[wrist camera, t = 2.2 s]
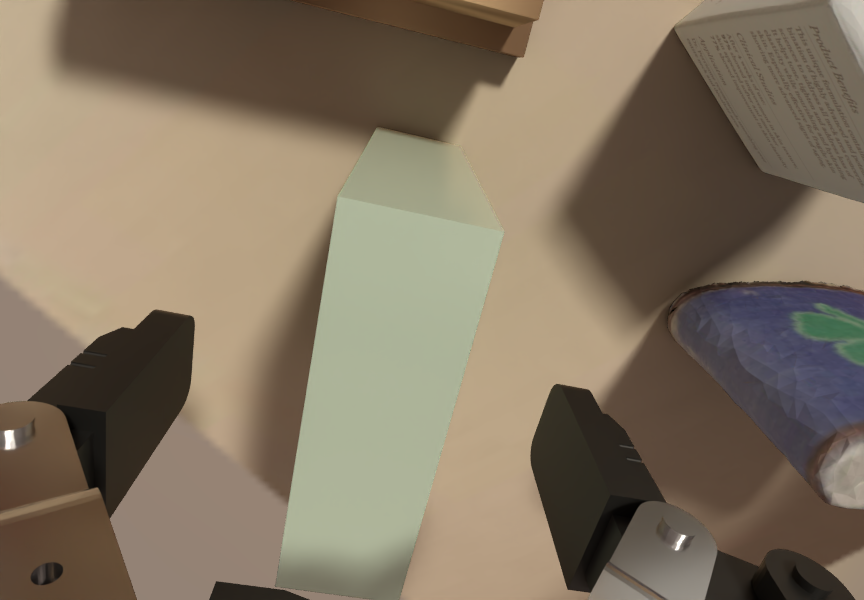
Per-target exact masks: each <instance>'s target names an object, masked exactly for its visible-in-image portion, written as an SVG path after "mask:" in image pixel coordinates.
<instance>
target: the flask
mask: <svg viewBox="0 0 864 600" xmlns="http://www.w3.org/2000/svg"><path fill="white" fill-rule="evenodd" d="M675 307H677V308H676V309H675V311H673V312H672V313H671V311H672V309H674V308H675ZM669 312H670V313H671V314H670V313H669V315H670V316H668V327H667V328H668V329H669V331H670V333H671V335H672V337H673V338H674V340H675V341H676V342H677V343H678V344H679V345H681V346H682V347H683V349H684V350H685V351H686V352H687V353H688V354H689V355H690V356H691V357H692V358H693V359H694V360H696V361H697V362H698V363H699V364H700V365H701V366H702V367H703V368H704V369H705V370H706V371H707V372H708V373H709V374H710V375H711V376H712V377H713V378H714V379H715V380H716V381H717V382H718V383H719V384H720V385H721V387H722V388H723V389H724V390H725V391H726V392H727V393H728V395H729V396H730V397H731V398H732V400H733V401H734V402H735V403H736V404H737V405H738V406H739V407H740V408H741V409H743V410H744V411H745V412H746V413H747V415H748V416H749V417H750V418H751V419H752V420H753V421H754V422H755V424H756V425H757V426H758V427H759V428H760V429H761V430H762V431H763V432H764V434H765V435H766V436H767V437H768V438H769V439H770V441H771V442H773V444H774V445H775V446H776V447H777V448H778V449H779V450H780V451H781V452H782V453H783V454H784V455H785V456H786V457H787V459H788V460H789V462H790V463H791V465H792V466H793V467H794V468H795V469H796V470H797V471H798V472H799V473H800V474H801V475H802V476H803V477H804V479H805V480H806V481H807V482H808V483H809V485H810V486H811V487H812V488H813V490H814V491H815V492H816V493H817V494H818V496H819V497H820V498H821V499H822V500H823V501H824V502H825V503H828V504H830V505H833V506H837V507H840V508H848V509H864V291H863V290H862V291H861V290H857V289H853V288H850V287H849V286H844V285H843V286H842V287H839V286H837V285H834V284H832V283H829V284H827V283H823V282H818V283H811V282H809V281H800V282H793V283H791V282H787V283H786V282H781V281H780V282H759V281H757V282H755V281H754V282H753V283H749V282H747V283H746V282H743V283H742V281H741V282H739V283H738V282H733V283H728V284H726V283H724V284H723V283H717V284H715V283H713V284H712V285H707V286H704V287H698V288H694V289H690V291H689V292H685V293H681V295H680V296H679V297H678V298H677V299H676V300H675V301H674V302H673V304H672V306H671V307H670V311H669Z"/></svg>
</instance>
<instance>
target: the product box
mask: <svg viewBox="0 0 864 600" xmlns="http://www.w3.org/2000/svg"><path fill="white" fill-rule="evenodd" d="M674 29H675V32H676V33H677V35H678V37H679V38H680V40H681V42H682V43H683V45H684V47H685V48H686V50H687V52H688V53H689V55H690V57H691V58H692V60H693V62H694V63H695V65H696V67H697V68H698V70H699V72H700V73H701V75H702V77H703V78H704V80H705V82H706V83H707V85H708V86H709V88H710V90H711V91H712V93H713V95H714V96H715V98H716V100H717V101H718V103H719V104H720V106H721V108H722V109H723V111H724V113H725V114H726V116H727V117H728V119H729V121H730V122H731V124H732V125H733V127H734V129H735V130H736V132H737V133H738V135H739V137H740V138H741V140H742V141H743V143H744V145H745V146H746V148H747V149H748V151H749V153H750V154H751V156H752V157H753V159H754V160H755V162H756V163H757V165H758V167H759V168H760V169H761V171H763V172H765V173H767V174H771V175H775V176H778V177H781V178H785V179H788V180H791V181H794V182H797V183H800V184H803V185H807V186H810V187H813V188H816V189H819V190H823V191H826V192H829V193H832V194H836V195H839V196H842V197H845V198H848V199H852V200H855V201H859V202H862V203H864V0H704V1H703V2H702V3H701V4H700V5H698V6H697V7H696V8H695V9H694V10H692V11H691V12H690V13H689V14H688V15H686V16H685V17H684V18H683V19H682V20H681V21H679V22H678V23H677V24H676V25H675V27H674Z"/></svg>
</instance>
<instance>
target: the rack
mask: <svg viewBox="0 0 864 600" xmlns="http://www.w3.org/2000/svg"><path fill="white" fill-rule="evenodd" d="M291 1H295V2H299V3H303V4H307V5H311V6H315V7H319V8H323V9H327V10H331V11H335V12H339V13H343V14H347V15H351V16H355V17H359V18H363V19H367V20H371V21H375V22H379V23H383V24H387V25H391V26H395V27H399V28H403V29H407V30H411V31H415V32H419V33H423V34H427V35H431V36H435V37H439V38H443V39H447V40H451V41H455V42H459V43H463V44H467V45H471V46H475V47H479V48H483V49H487V50H491V51H495V52H499V53H503V54H506V55H510V56H514V57H524V54H525V50H526V47H527V43H528V39H529V35H530V32H531V28H532V24H533V21H536V20H538V19H539V16H540V12H541V8H542V5H543V1H544V0H291Z"/></svg>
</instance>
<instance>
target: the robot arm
mask: <svg viewBox="0 0 864 600" xmlns="http://www.w3.org/2000/svg"><path fill="white" fill-rule="evenodd" d="M194 330H195V322H194V318H193V317H192V316H189V315H183V314H178V313H173V312H167V311H162V310H153V311H152V312H151V313H150V314H149V315H148V316H147V317H146V318H145V319H144V320H143V321H142V322H141V323H140V324H139V325H138V326H137V327H136V328H135V329H130V328H124V327H122V328H120V329H117V330H115V331H112V332H110V333H107V334H105V335H103V336H100V337H98V338H97V339H96V340H95V341H94V342H93V343H92V344H91V345H89V346H88V347H87V348H86V349H85V350H84V352H83V354H82V353H80V354H79V355H78V356H77V357H76V358H75V359H74V360H73V361H71V364H70V365H67V366H66V367H65V368H64V369H62V370H61V371H60V372H59V373H58V374H57V375H56V376H55V377H54V378H53V379H51V380H50V381H49V382H48V383H47V384H46V385H45V386H43V387H42V388H41V389H40V390H39V391H38V392H37V393H36V394H34V395H33V396H32V397H31V398H30V399H29V400H28V401H16V402H8V403H3V404H0V600H137V598H136V595H135V592H134V590H133V586H132V583H131V580H130V578H129V575H128V572H127V569H126V566H125V563H124V560H123V557H122V554H121V551H120V548H119V545H118V543H117V539H116V537H115V533H114V531H113V528H112V525H111V522H110V517H111V516H112V514H113V513H114V511H115V510H116V508H117V507H118V505H119V503H120V502H121V501H122V499H123V498H124V496H125V495H126V493H127V491H128V490H129V488H130V487H131V485H132V484H133V482H134V481H135V479H136V478H137V476H138V475H139V473H140V472H141V470H142V469H143V467H144V465H145V464H146V462H147V461H148V460H149V458H150V457H151V455H152V453H153V452H154V450H155V449H156V447H157V446H158V444H159V443H160V441H161V440H162V438H163V437H164V435H165V434H166V432H167V431H168V429H169V428H170V426H171V425H172V423H173V421H174V420H175V418H176V417H177V415H178V414H179V412H180V411H181V409H182V408H183V406H184V404H185V401H186V399H187V396H188V393H189V389H190V384H191V374H192V360H193V345H194ZM641 460H642V459H641V458H640V456H639V454H638V452H637V451H636V450H635V449H634V445H633V444H632V442H631V440H630V438H629V437H628V435H627V433H626V431H625V430H624V429H623V428H622V427H621V426H620V425H619V424H618V423H617V422H615V421H614V420H613V419H612V418H611V417H610V416H609V415H607V414H602V412H601V410H600V408H599V406H598V404H597V402H596V401H595V399H594V397H593V395H592V393H591V392H590V391H589V390H588V389H583V388H577V387H572V386H566V385H561V384H556V385H554V386H553V388H552V389H551V391H550V394H549V396H548V399H547V402H546V405H545V407H544V410H543V413H542V416H541V418H540V421H539V424H538V427H537V429H536V432H535V435H534V438H533V441H532V446H531V466H532V470H533V473H534V477H535V480H536V484H537V487H538V490H539V494H540V497H541V501H542V504H543V507H544V511H545V514H546V518H547V521H548V524H549V528H550V531H551V535H552V538H553V541H554V545H555V548H556V552H557V555H558V558H559V562H560V565H561V569H562V572H563V575H564V579H565V582H566V586H567V589H568V590H575V591H582V592H589V593H591V594H590V595H589V597H588V599H587V600H855V599H854V597H853V596H852V595H851V593H850V592H849V591H848V590H847V588H846V587H845V586H844V585H843V584H842V583H841V582H840V581H839V580H838V579H837V578H836V577H835V576H834V575H833V574H832V573H830V572H829V571H828V570H826V569H825V568H824V567H822V566H821V565H819V564H818V563H816V562H815V561H813V560H811V559H809V558H807V557H805V556H803V555H801V554H798V553H796V552H793V551H789V550H784V549H775V550H771V551H770V552H768V553H767V555H766V556H765V558H764V560H763V561H762V563H761V564H760V566H759V567H758V566H756V565H753V564H751V563H748V562H746V561H743V560H741V559H738V558H735V557H733V556H730V555H728V554H725V553H723V552H720V551H718V550H717V545H716V542H715V540H714V538H713V536H712V535H711V533H710V532H709V531H708V530H707V528H706V527H705V526H704V525H703V524H702V523H701V522H699V521H698V520H697V519H696V518H695V517H693V516H692V515H691V514H689V513H687V512H686V511H684V510H682V509H680V508H678V507H676V506H674V505H671V504H668V503H666V501H665V499H664V498H663V496H662V494H661V492H660V491H659V489H658V487H657V485H656V484H655V482H654V480H653V478H652V477H651V475H650V473H649V471H648V470H647V468H646V466H645V465H644V463H641ZM209 600H309V599H306V598H304V597H301V596H299V595H296V594H293V593H291V592H288V591H285V590H279V589H271V588H263V587H256V586H248V585H240V584H233V583H224V582H216V584H215V586H214V589H213V591H212V594H211V597H210V599H209Z"/></svg>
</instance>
